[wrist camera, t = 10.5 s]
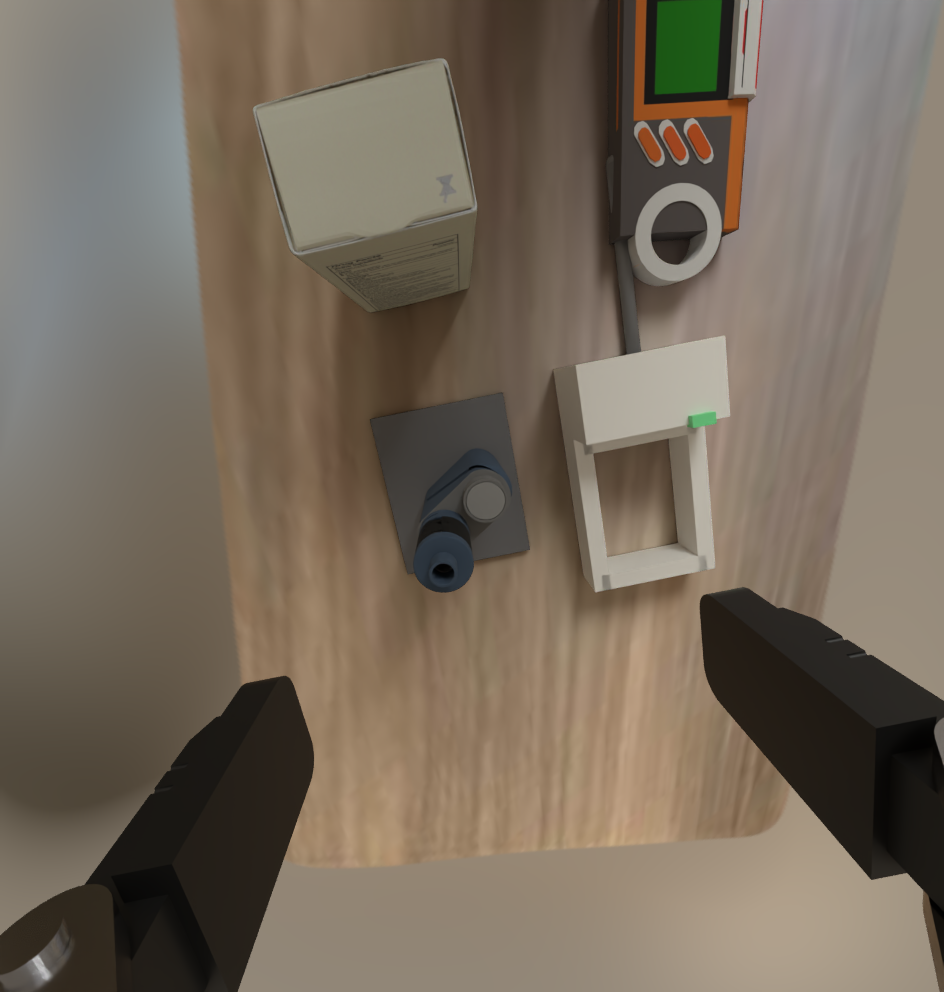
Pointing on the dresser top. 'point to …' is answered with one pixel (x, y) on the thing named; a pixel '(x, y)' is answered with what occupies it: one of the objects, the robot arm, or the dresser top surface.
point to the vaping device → (458, 519)
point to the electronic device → (678, 125)
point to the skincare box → (375, 183)
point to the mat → (447, 467)
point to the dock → (643, 436)
